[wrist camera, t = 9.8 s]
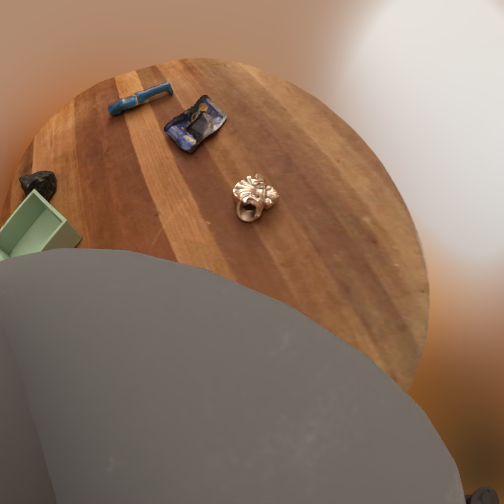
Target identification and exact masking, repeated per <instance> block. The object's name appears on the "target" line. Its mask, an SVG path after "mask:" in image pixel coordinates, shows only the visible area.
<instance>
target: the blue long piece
mask: <svg viewBox="0 0 504 504" xmlns="http://www.w3.org/2000/svg"><path fill="white" fill-rule="evenodd" d="M164 91H167V92H168V93H169V94H173V90H172V88H171V85H170V83H169V82H166V83H162V84H159V85H157V86H154V87H151V88H149V89H147V90H143V91H140V92H136V93H134V94H133V95H131V96H129V97H127V98H121V99H119V100H117V101H115V102H114V103H111V104H110V105H109V106H108V111H109V112H110V114H111V115H112V116H114V115H117V114H120V113H121V111H122V110H125V109H128V108H130V109H132V108H133V107H135V106H136V105H139V104H140V103H142V102H144V101H145V100H147V99H148V98H150V97H151V96H154V95H156V94H159V93H162V92H164Z"/></svg>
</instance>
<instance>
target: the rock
mask: <svg viewBox="0 0 504 504" xmlns="http://www.w3.org/2000/svg"><path fill="white" fill-rule="evenodd" d="M19 181H20V183H21V187H22V189H23V190H24V192H25V194H26V195H29V194H30V193H31V192H32V191H33V190H34V189H35V190H36V191H37V192H38V193H39V194H40V195H41V196H42V197H43V198H44V199H45V200H46V201H48V199H49V198H50V197H51V195H52V193H53V192H54V191H55V189H56V178H55V175H54V173H53V172H51V171H39V172H36V173H34V174H30V175H26V176H23V177H20V178H19Z"/></svg>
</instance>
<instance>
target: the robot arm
mask: <svg viewBox="0 0 504 504" xmlns="http://www.w3.org/2000/svg"><path fill="white" fill-rule="evenodd" d="M464 497H465V501H466V504H499V499H498V495H497V493H496V492H495V491H494V489H492V488H490V487H481V488H478V489H477V490H476V491H475V492H474V493H473V494H471V495H464Z"/></svg>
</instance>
